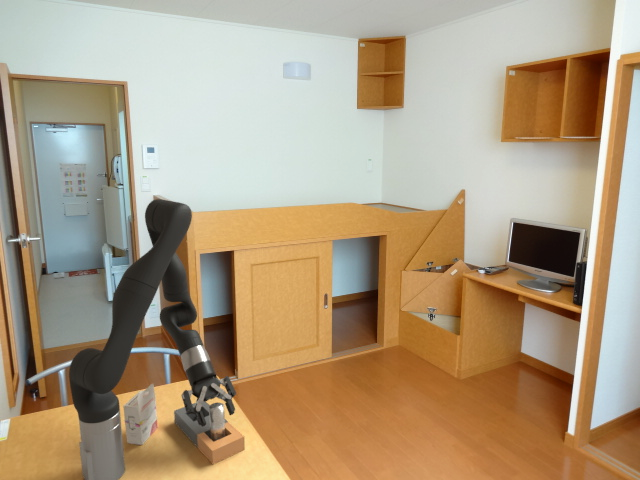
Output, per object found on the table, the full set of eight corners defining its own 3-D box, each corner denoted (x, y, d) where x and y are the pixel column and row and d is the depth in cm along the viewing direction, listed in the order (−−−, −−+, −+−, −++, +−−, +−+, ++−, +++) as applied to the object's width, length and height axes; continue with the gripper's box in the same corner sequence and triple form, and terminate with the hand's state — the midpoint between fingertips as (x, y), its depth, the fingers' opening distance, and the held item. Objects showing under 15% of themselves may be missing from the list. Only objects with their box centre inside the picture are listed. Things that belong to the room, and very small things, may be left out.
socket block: (213, 464, 124) (212, 450, 123) (174, 422, 141) (174, 410, 141) (244, 449, 130) (244, 436, 129) (204, 411, 147) (203, 399, 147)
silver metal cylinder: (215, 452, 128) (213, 412, 126) (208, 445, 131) (206, 405, 129) (228, 446, 131) (226, 407, 128) (221, 439, 134) (219, 400, 131)
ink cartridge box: (142, 425, 140) (139, 380, 137) (158, 427, 139) (155, 382, 136) (125, 443, 132) (121, 395, 129) (141, 446, 131) (138, 397, 128)
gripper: (177, 367, 128) (198, 425, 122) (224, 353, 137) (246, 406, 131) (170, 378, 133) (190, 434, 127) (216, 363, 142) (236, 414, 136)
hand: (218, 419), depth 129 cm, fingers open, 8 cm apart
